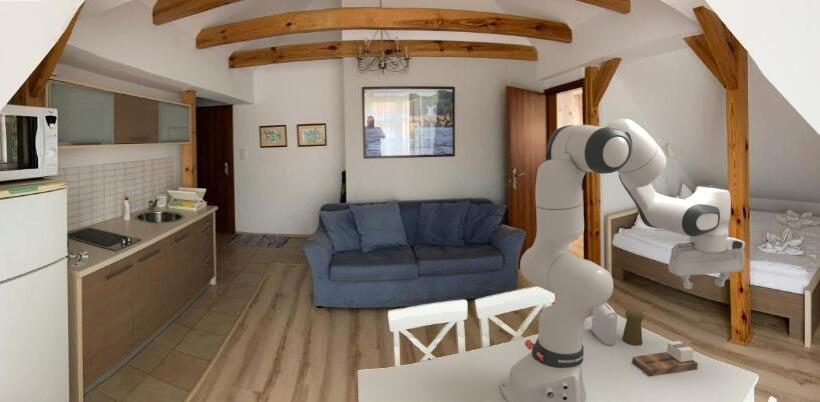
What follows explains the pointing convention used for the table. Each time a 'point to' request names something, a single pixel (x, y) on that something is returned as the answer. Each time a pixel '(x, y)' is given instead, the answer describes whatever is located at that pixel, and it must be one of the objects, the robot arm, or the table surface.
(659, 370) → the slider board
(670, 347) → the fader tab
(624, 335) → the cork
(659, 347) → the table surface
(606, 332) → the photo printer
